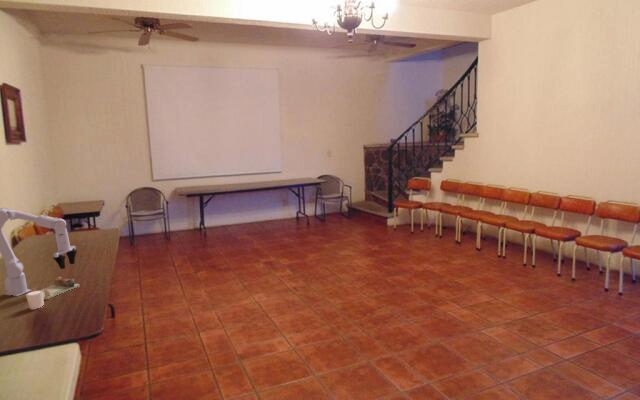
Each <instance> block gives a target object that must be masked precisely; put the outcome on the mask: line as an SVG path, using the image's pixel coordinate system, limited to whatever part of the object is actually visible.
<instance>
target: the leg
mask: <svg viewBox="0 0 640 400" xmlns="http://www.w3.org/2000/svg"><path fill="white" fill-rule="evenodd" d="M53 279H54V285H60V286H69V287H72V286H74V285H75V284H76V283H75V279H74V278H64V277H62V278H58V277H56V278H53Z"/></svg>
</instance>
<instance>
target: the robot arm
mask: <svg viewBox="0 0 640 400" xmlns="http://www.w3.org/2000/svg"><path fill="white" fill-rule="evenodd" d="M16 219H19V220H23V221H27V222H33V223H36V225H37V226H39V227H44V228H46V229H47V228H48V229H53V230H54V233H55V234H54V235H55V240H56V246H57V250H56V252H54V253H53V255H52V256H53V257H52V258H53V260H54V261H55V262H56V264H58V266H59V268H60V270H65V269H66V263H65V261H66V256H67V258H68V261H69V264H70V265H74V264H75V263H76V262H75V261H76V257H77V252H78V250H77V249H76V245H71V244H70V238H69V232H68V229H67V222H66V220H65V219H63V218H61V217H60V218H58V217H57V216H55V217H52V216H48V214H45V213H44V214H40V215H34V214H32V213H28V212H26V211H25V212H24V211H21V210H17V209H15V208H14V209H13V208H7V207H2V208H0V255H1V256H2V259H3V262H4V266H5V269H6V272H5V273H6V276H7V277H6V278H5V280H4V287H5V292H6V293H4V295H5V296H11V295H13V296H12V297H19V296H22V295H24V294H27V293H29V292H32V290H31V289H29V288H28V285H27V280H26V273H24V272H23V271H24V268H25V267H24V264H23V263H22V262H20V260H19V258H18V257H17V256H16V255H15V253H14V251H13V249H12V247H11V245H10V243H9V241H8V238H7V236H6V235H5V233H4V230H3V227H4V225H5V224H6V223H7V222H8V220H10V221H13V220H16ZM65 254H66V256H65Z"/></svg>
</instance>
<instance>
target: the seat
mask: <svg viewBox="0 0 640 400" xmlns="http://www.w3.org/2000/svg"><path fill="white" fill-rule="evenodd" d="M57 278H63V277H62V276H58V277H57ZM77 287H78V288H80V287H81V285H80V284H79V283H75V285H74V286H72V287H69V286H60V285H55V284H53V285H49V286H48V287H45V288H42V289H41V290H42V291H43V297H44V300H47V299H49V298H51V297H54V296H56V295H58V296H60V295H59V294H61V293H63V294H65V293H64V292H66V291H68V290H70V291H72V290H71V289H73V290H75V289H78V288H77ZM74 288H75V289H74ZM30 290H32V291H31V292H33V291H38V290H37V286H35V287H31V289H30ZM68 292H69V291H68ZM66 293H67V292H66ZM61 295H62V294H61ZM56 297H57V296H56ZM54 298H55V297H54ZM51 299H52V298H51ZM49 300H50V299H49Z"/></svg>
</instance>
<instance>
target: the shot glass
mask: <svg viewBox="0 0 640 400" xmlns="http://www.w3.org/2000/svg"><path fill="white" fill-rule="evenodd" d="M25 297H26V300H27V304H28V306H29V307H28V308H29V310H37V308H39V309H41V308H43V307H44V306H45V301H44V300H45V299H44V297H43V291H42V289H40V290H39V289H38V290H37V291H33V292H32V291H29V292H27V293H25ZM43 305H44V306H43ZM42 306H43V307H42ZM40 307H41V308H40Z"/></svg>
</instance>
